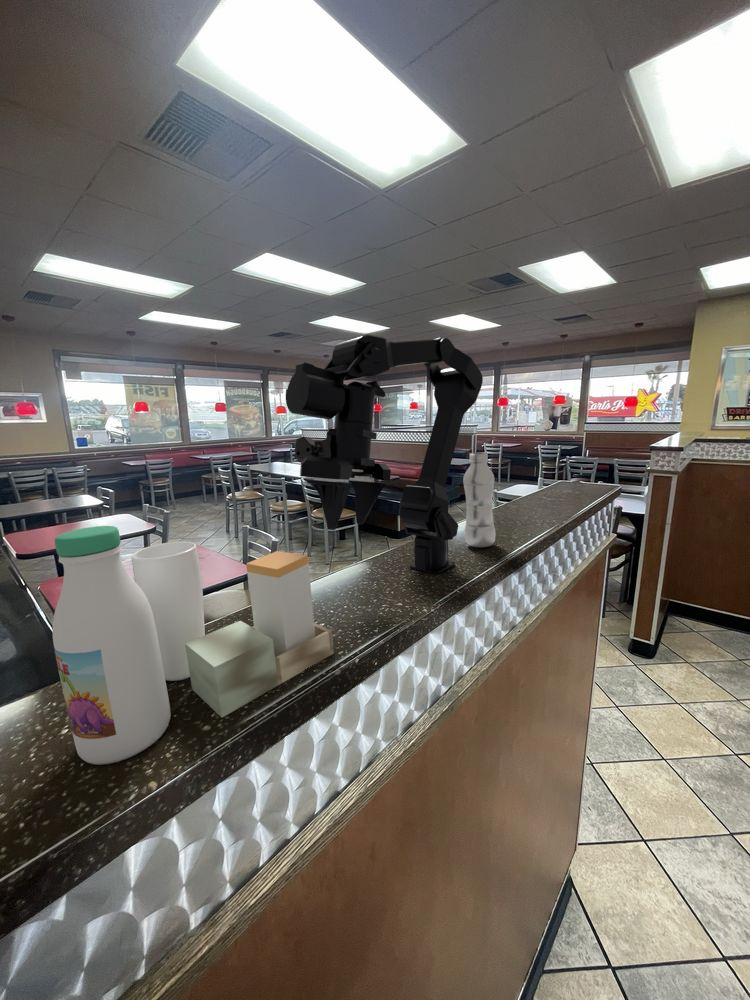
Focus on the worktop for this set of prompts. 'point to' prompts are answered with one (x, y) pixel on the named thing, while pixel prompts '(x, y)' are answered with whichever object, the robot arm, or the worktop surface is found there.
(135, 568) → the drinking glass
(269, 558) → the orange-topped white pillar
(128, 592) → the milk bottle
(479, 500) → the plastic bottle
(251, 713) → the worktop surface
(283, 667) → the open wooden box
